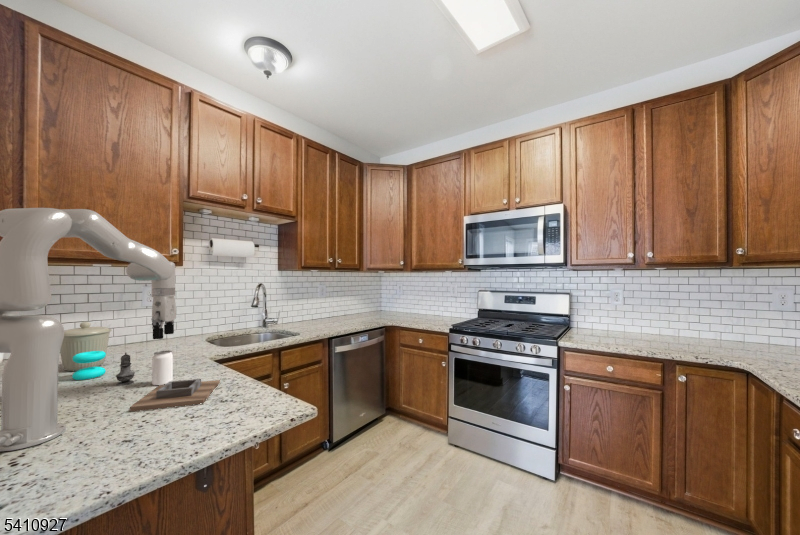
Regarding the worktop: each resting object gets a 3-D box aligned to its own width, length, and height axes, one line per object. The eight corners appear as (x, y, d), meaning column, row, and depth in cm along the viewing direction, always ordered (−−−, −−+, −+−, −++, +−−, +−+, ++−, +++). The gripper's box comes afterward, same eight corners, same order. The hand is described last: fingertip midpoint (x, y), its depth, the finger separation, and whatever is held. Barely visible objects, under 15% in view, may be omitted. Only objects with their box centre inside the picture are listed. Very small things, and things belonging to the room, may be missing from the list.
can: (148, 384, 123) (148, 353, 123) (167, 379, 128) (167, 349, 129) (157, 386, 120) (157, 354, 120) (176, 381, 125) (176, 351, 126)
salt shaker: (123, 386, 121) (123, 354, 121) (111, 385, 122) (111, 354, 122) (139, 381, 126) (139, 351, 127) (127, 380, 128) (127, 350, 128)
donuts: (103, 353, 131) (69, 357, 126) (102, 378, 131) (68, 382, 125) (108, 349, 140) (76, 352, 134) (108, 372, 139) (76, 376, 134)
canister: (70, 364, 151) (71, 320, 151) (118, 360, 157) (119, 318, 158) (44, 376, 134) (45, 325, 135) (99, 371, 140) (99, 323, 141)
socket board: (203, 404, 103) (203, 391, 103) (129, 411, 98) (129, 398, 98) (219, 384, 122) (219, 373, 123) (159, 389, 117) (159, 378, 117)
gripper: (165, 294, 118) (165, 340, 118) (182, 291, 134) (183, 331, 134) (141, 294, 116) (141, 341, 116) (162, 291, 132) (162, 332, 132)
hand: (163, 336), depth 125 cm, fingers open, 9 cm apart
